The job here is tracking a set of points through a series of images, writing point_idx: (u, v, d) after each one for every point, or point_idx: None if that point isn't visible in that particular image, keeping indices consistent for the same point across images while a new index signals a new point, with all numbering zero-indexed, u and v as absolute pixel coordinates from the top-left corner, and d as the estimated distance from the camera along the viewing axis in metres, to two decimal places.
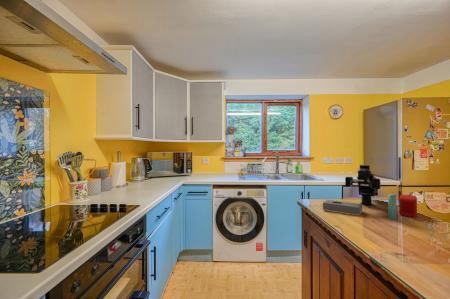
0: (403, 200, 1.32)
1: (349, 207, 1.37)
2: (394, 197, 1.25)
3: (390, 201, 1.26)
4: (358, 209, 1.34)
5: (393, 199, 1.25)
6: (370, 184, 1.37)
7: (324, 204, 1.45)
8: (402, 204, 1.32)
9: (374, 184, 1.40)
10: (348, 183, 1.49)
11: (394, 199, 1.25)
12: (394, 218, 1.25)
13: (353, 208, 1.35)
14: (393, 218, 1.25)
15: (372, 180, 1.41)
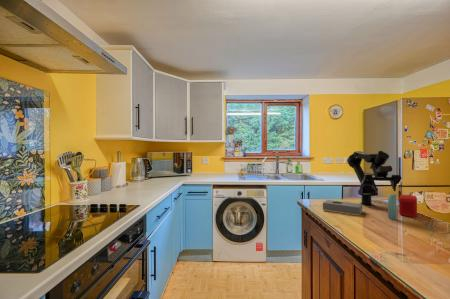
0: (403, 200, 1.32)
1: (349, 207, 1.37)
2: (394, 197, 1.25)
3: (390, 201, 1.26)
4: (358, 209, 1.34)
5: (393, 199, 1.25)
6: (395, 188, 1.34)
7: (324, 204, 1.45)
8: (402, 204, 1.32)
9: None
10: (368, 182, 1.41)
11: (394, 199, 1.25)
12: (394, 218, 1.25)
13: (353, 208, 1.35)
14: (393, 218, 1.25)
15: (395, 180, 1.35)
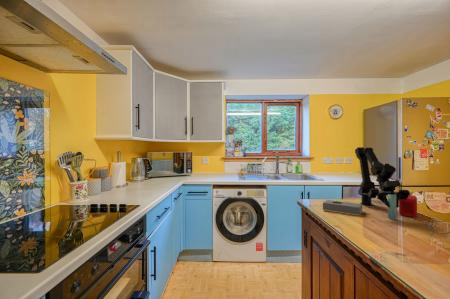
0: (403, 200, 1.32)
1: (349, 207, 1.37)
2: (394, 197, 1.25)
3: (390, 201, 1.26)
4: (358, 209, 1.34)
5: (393, 199, 1.25)
6: (398, 204, 1.26)
7: (324, 204, 1.45)
8: (402, 204, 1.32)
9: None
10: (379, 197, 1.32)
11: (394, 199, 1.25)
12: (394, 218, 1.25)
13: (353, 208, 1.35)
14: (393, 218, 1.25)
15: (397, 195, 1.27)
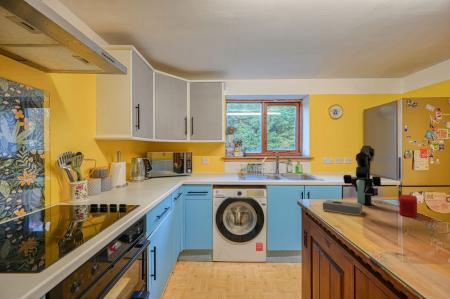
0: (403, 200, 1.32)
1: (349, 207, 1.37)
2: (361, 182, 1.32)
3: (358, 186, 1.34)
4: (358, 209, 1.34)
5: (360, 184, 1.32)
6: (365, 189, 1.32)
7: (324, 204, 1.45)
8: (402, 204, 1.32)
9: (369, 183, 1.34)
10: (352, 183, 1.40)
11: (361, 184, 1.32)
12: (361, 202, 1.32)
13: (353, 208, 1.35)
14: (360, 202, 1.33)
15: (367, 181, 1.33)
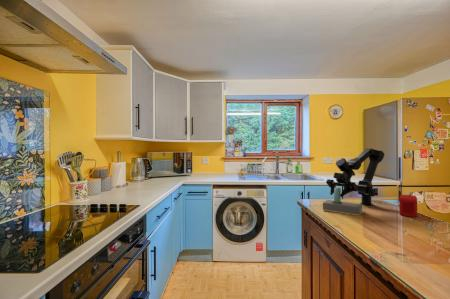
0: (403, 200, 1.31)
1: (349, 207, 1.37)
2: (336, 190, 1.45)
3: (334, 193, 1.47)
4: (358, 209, 1.34)
5: (335, 191, 1.45)
6: (342, 194, 1.42)
7: (324, 204, 1.45)
8: (403, 204, 1.32)
9: (348, 188, 1.43)
10: None
11: (336, 191, 1.45)
12: None
13: (353, 208, 1.35)
14: None
15: (345, 186, 1.43)
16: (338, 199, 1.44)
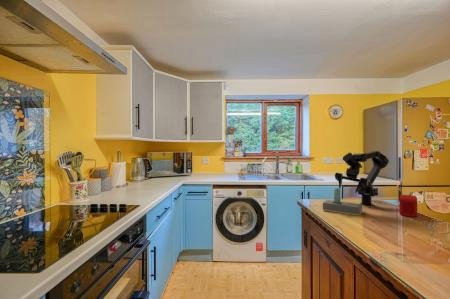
0: (403, 200, 1.31)
1: (349, 207, 1.37)
2: (336, 190, 1.44)
3: (334, 193, 1.46)
4: (358, 209, 1.34)
5: (335, 191, 1.45)
6: (357, 190, 1.44)
7: (324, 204, 1.45)
8: (403, 204, 1.32)
9: (361, 184, 1.45)
10: (338, 179, 1.55)
11: (336, 192, 1.44)
12: None
13: (353, 208, 1.35)
14: None
15: (359, 183, 1.44)
16: (338, 199, 1.44)
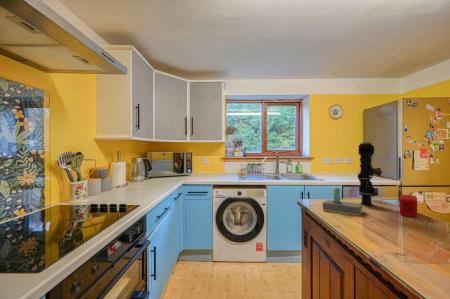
0: (404, 200, 1.31)
1: (349, 207, 1.37)
2: (335, 190, 1.44)
3: (333, 193, 1.46)
4: (358, 209, 1.34)
5: (335, 191, 1.45)
6: None
7: (324, 204, 1.45)
8: (403, 204, 1.32)
9: None
10: (362, 179, 1.40)
11: (335, 192, 1.44)
12: None
13: (353, 208, 1.35)
14: None
15: None
16: (338, 199, 1.44)
